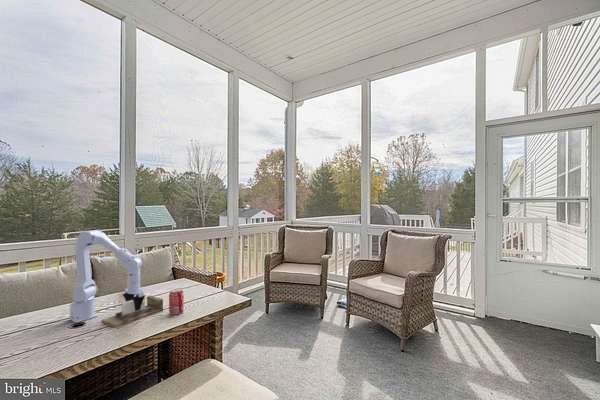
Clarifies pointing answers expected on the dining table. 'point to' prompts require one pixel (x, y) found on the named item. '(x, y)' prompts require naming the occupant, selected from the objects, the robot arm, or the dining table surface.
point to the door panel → (130, 307)
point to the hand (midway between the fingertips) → (133, 308)
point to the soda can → (176, 301)
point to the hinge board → (136, 313)
